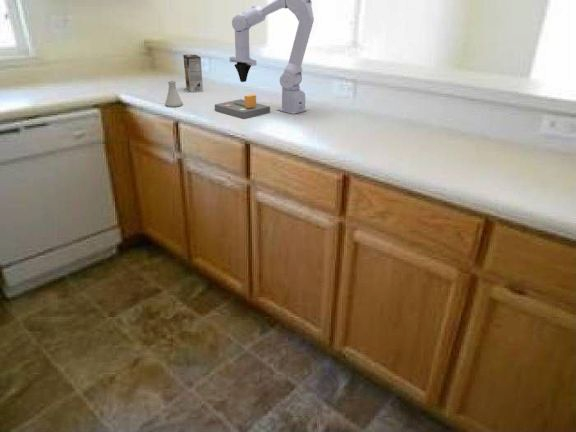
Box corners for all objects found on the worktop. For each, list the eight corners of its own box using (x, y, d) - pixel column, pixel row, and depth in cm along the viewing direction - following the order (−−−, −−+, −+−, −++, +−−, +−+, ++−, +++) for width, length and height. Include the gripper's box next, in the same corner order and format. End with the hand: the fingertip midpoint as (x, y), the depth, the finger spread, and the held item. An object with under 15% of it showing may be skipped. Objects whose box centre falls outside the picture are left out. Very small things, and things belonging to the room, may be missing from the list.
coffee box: (185, 89, 221) (182, 54, 214) (198, 88, 224) (196, 54, 216) (190, 92, 214) (187, 57, 207) (203, 91, 216) (201, 56, 209)
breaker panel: (269, 112, 182) (269, 106, 180) (244, 118, 172) (243, 111, 171) (240, 105, 193) (240, 98, 191) (214, 110, 183) (214, 103, 182)
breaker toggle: (256, 106, 179) (256, 95, 177) (248, 108, 176) (248, 96, 174) (252, 105, 180) (251, 94, 178) (244, 107, 178) (244, 95, 176)
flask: (161, 106, 189) (159, 81, 185) (173, 102, 195) (170, 79, 190) (175, 108, 186) (172, 83, 182) (186, 104, 192) (184, 80, 187)
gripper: (261, 48, 180) (262, 82, 186) (238, 45, 189) (239, 78, 195) (248, 49, 175) (249, 85, 182) (225, 46, 184) (226, 80, 190)
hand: (243, 81), depth 188 cm, fingers closed
